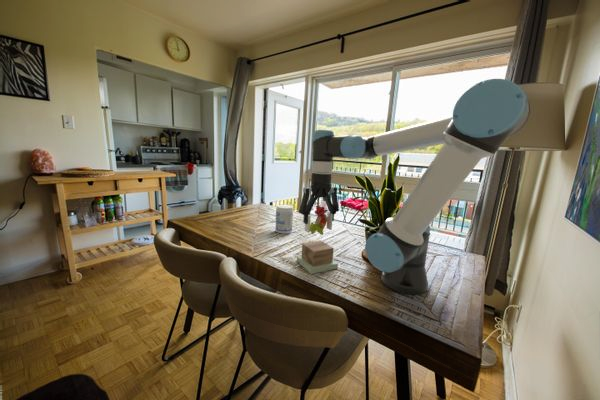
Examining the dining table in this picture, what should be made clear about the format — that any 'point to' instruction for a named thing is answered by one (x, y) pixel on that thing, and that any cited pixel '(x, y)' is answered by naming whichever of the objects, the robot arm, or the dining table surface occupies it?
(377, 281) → the dining table surface
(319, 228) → the bird rattle
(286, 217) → the supplement tub
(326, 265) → the base plate
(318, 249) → the walnut block
